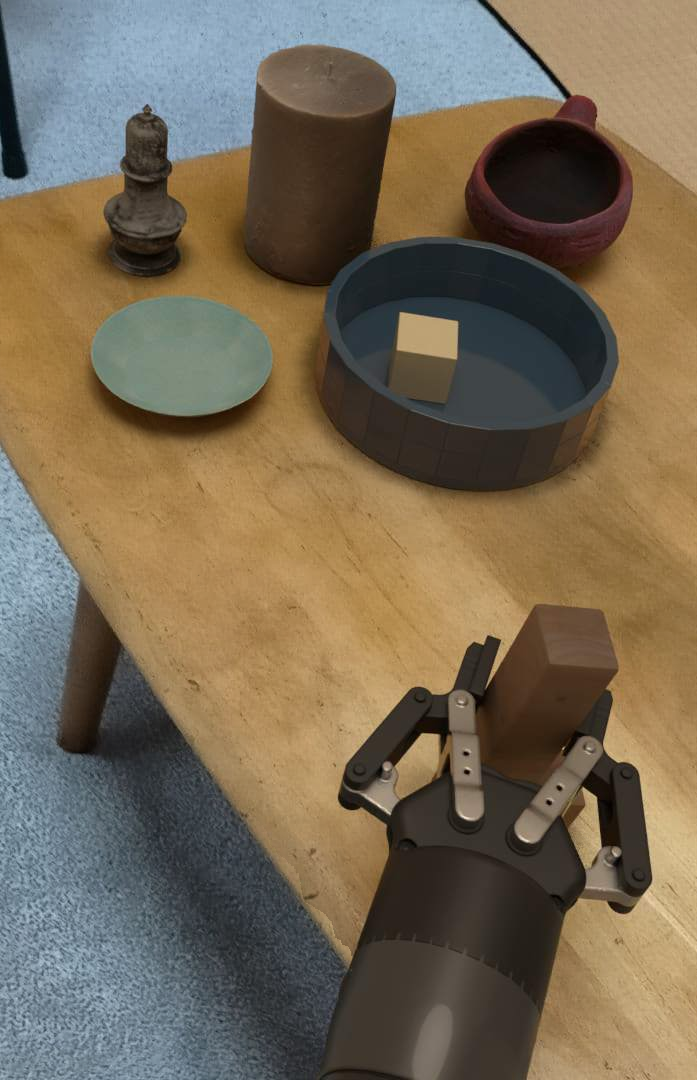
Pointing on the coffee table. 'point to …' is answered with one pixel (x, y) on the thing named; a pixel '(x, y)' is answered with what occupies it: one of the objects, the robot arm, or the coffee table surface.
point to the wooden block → (545, 693)
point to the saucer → (181, 356)
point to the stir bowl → (467, 363)
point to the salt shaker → (145, 203)
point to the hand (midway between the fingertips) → (539, 666)
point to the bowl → (551, 188)
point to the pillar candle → (316, 160)
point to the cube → (423, 357)
